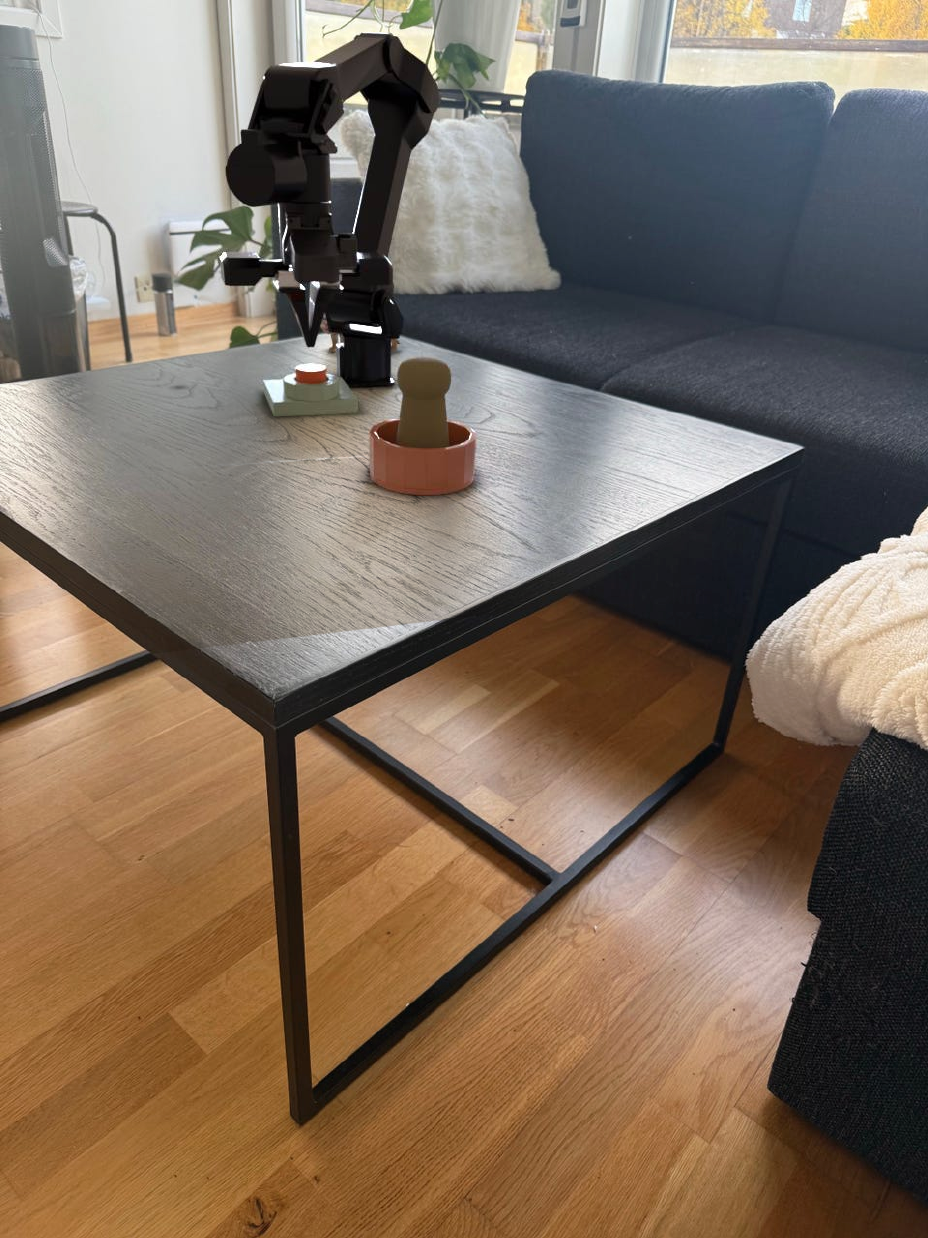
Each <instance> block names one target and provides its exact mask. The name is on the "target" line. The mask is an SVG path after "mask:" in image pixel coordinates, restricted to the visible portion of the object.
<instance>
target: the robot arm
mask: <svg viewBox="0 0 928 1238" xmlns="http://www.w3.org/2000/svg"><path fill="white" fill-rule="evenodd" d="M439 91H440V90H439V86H438V83H437V82H436V79H435V77H434V76H433V74H432V72H431V70H430V68H429V67H428V65H427V63H425V62H424V61H422V60H421V59H420V58H419V57H417V56H416V55H415V54H413V53H412V52H410V50H408V49H406V47H405V46H404V44H403V43H402V41H401V39H400V38H399V36H398V35H394V34H393V33H392V32H369V31H368V32H366V31H365V32H361V33H359V34H356V35H355V36H354V37H353V40H350V41H349V42H347V43H345V44H343V45H341V46H340V47H337V48H336V49H334V50H332V51H330V52H328V53H326V54H325V55H323V56H321V57H319V58H317V59H315V60H313V61H310V62H293V63H291V62H289V63H281V64H280V63H279V64H272V65H270V66H269V67H268V68H267V69H266V71H265V72H264V74H263V80H262V82H261V84H260V87H259V90H258V93H257V97H256V100H255V103H254V106H253V110H252V112H251V116H250V119H249V123H248V126H247V129H245V128H244V129H243V128H241V129H240V131H239V132H240V143H239V144H238V145H236V146H235V147H234V148H233V149H232V150H231V152H230V154H229V156H228V158H227V163H226V165H225V169H224V171H225V176H226V177H225V178H226V183H227V185H228V188H229V190H230V192H231V193H232V195H233V196H234V198H235V199H236V200H237V201H238V202H240V203H241V204H243V205H245V206H248V207H251V208H257V207H266V206H275V205H277V207H278V226H279V227H278V229H279V247H280V249H279V250H280V259H260V256H259V255H258V254H257V253H256V252H255V251H224V252H223V253H222V255H220V256H219V262H220V263H219V264H220V265H219V266H220V276H221V280H222V282H223V284H224V285H225V286H228V287H256V285H258V283H259V282H260V281H261V280H262V278H272V279H273V280H272V286H273V287H274V289H275V290H276V291H277V293H278V294H285V296H286V298H287V300H288V302H289V304H290V306H291V308H292V310H293V313H294V316H295V319H296V321H297V324H298V327H299V330H300V332H301V335H302V339H303V341H304V343H305V346H306V347H307V348H315V346H316V342H317V339H318V335H319V332H320V330H321V328H320V326H321V322H322V319H323V316H324V313H325V316H326V320H327V325H328V330H329V333H340V336H339V341H340V342H338V343H337V345H336V351H335V360H336V362H335V363H336V365H335V366H336V376H337V377H342V378H343V380H344V381H345V383H346V384H347V385H348V387H349V388H355V387H356V388H357V387H358V388H359V387H360V388H361V387H385V386H394V385H395V380H394V379H393V378H392V351H391V346H392V342H391V339H397V340H398V339H400V338H401V335H402V333H403V329H404V316H403V314H402V311H401V310H400V308H399V306H398V304H397V302H396V300H395V297H394V291H395V283H394V267H393V264H392V262H391V261H390V259H389V253H390V249H391V245H392V239H393V235H394V231H395V226H396V221H397V217H398V213H399V208H400V203H401V199H402V194H403V192H404V191H403V190H404V186H405V182H406V176H407V173H408V168H409V164H410V159H411V154H412V151H413V150H414V149H415V148H416V147H417V146H418V144H419V143H421V142H422V141H423V139H424V138H426V136H427V135H428V133H429V132H430V129H431V126H432V123H433V119H434V116H435V113H436V112H437V111H438V108H439V103H440V92H439ZM358 93H360V94H361V95H362V97H363V99H364V100H365V101H366V103H367V106H366V113H367V116H368V119H369V122H370V125H371V128H372V131H373V140H372V144H371V150H370V154H369V157H368V162H367V163H368V164H367V166H366V173H365V177H364V183H363V186H362V190H361V195H360V199H359V204H358V209H357V214H356V217H355V222H354V226H353V232H339V233H337V234H335V231H334V229H333V220H332V219H333V218H332V217H333V216H332V192H331V190H332V189H331V186H332V185H331V159H330V158H331V155H336V154H337V153H338V150H339V149H338V148H339V147H338V146H337V144H336V143H335V141H333V140H332V139H331V138H330V137H329V134H328V133H329V131H331V129H333V127H335V125H336V124H337V123H338V122H339V120H340V119H341V118H342V117H343V115H344V114H345V107H344V103H345V102H346V101H347V100H349V99H351V98H352V97H353V96H355V95H356V94H358ZM302 284H304V285H309V301H308V303H309V304H308V306H307V301H306V300H307V299H306V298H307V297H306V295H307V294H306V288H305V287H304V286H303V285H302ZM307 307H308V308H307Z"/></svg>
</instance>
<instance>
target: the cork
mask: <svg viewBox="0 0 928 1238" xmlns="http://www.w3.org/2000/svg"><path fill="white" fill-rule="evenodd" d="M396 382H397V386H398V388H399V390H400V392H401V393H402V397H401V406H400V413H399V417H398V418H399V425H398V432H397V439H396V445H399V446H404V447H410V448H424V449H431V448H447V447H450V446H449V436H448V425H447V420H448V415H447V406H446V405H447V404H446V395H447V393H448V392H449V391H450V388H451V384H452V372H451V368H450V366H449V365H448V363H446V361H444V360H442V359H439V358H435V357H431V356H415V357H409V358H407V359H405V360H403V361H402V362H401V363H400V364H399V366H398V370H397V373H396Z"/></svg>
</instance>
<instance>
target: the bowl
mask: <svg viewBox="0 0 928 1238" xmlns="http://www.w3.org/2000/svg"><path fill="white" fill-rule="evenodd" d="M399 418H400V417H397V418H392V419H387V420H383V421H381V422H378V423H376V424H374V425H372V427H371V429H370V430H369V433H368V437H369V438H368V440H369V441H368V446H369V447H368V448H369V449H368V451H369V455H368V456H369V458H368V459H369V471H370V473H369V474H370V479H371V481H372V482H373V483H375V485H377V486H379V487H381V488H383V489H386V490H388V491H391V492H395V493H400V494H405V495H413V496H440V495H446V494H447V495H448V494H452V493H456V492H459V491H462V490H464V489H466V488H468V487H469V486H470V485H471V484H473V481H474V478H475V477H474V475H475V469H476V452H477V450H476V449H477V433H476V431H475V430H474V429H473V428H471V427H470V426H468V425H466V424H463V423H461V422H458V421H455V420H451V419H447V425H448V436H449V446H450V447H447V448H431V449H424V448H410V447H404V446H399V445H396V439H397V432H398V425H399Z"/></svg>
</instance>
